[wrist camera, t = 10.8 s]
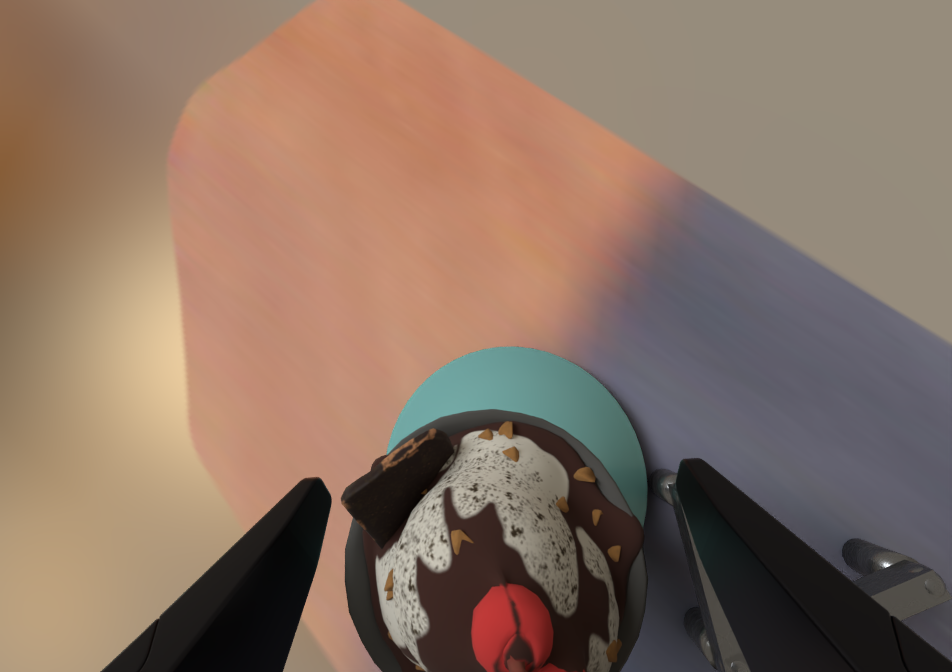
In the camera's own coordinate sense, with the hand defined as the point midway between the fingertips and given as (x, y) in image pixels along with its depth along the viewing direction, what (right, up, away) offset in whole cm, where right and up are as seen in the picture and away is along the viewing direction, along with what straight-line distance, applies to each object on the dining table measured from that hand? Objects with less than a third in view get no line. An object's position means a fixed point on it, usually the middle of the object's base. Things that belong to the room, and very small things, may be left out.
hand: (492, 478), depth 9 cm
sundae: (+1, -4, +9) cm, 10 cm away
